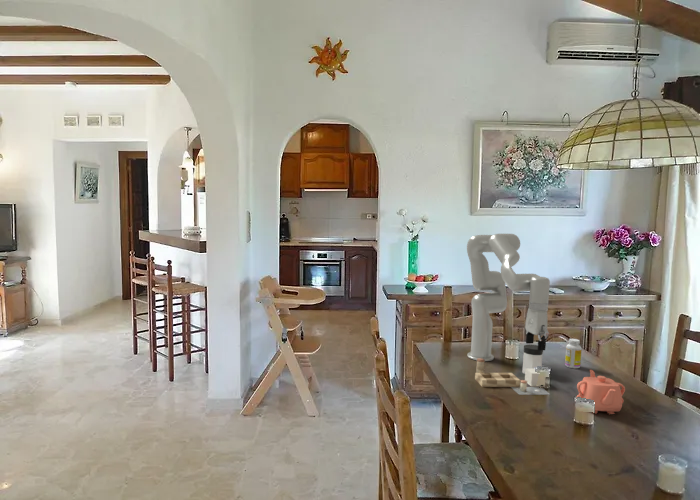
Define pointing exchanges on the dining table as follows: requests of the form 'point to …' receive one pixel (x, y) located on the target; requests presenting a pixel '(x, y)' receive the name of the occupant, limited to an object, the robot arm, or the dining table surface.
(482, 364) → the peg
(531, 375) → the white cube
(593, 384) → the teapot
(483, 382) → the peg board
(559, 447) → the dining table surface
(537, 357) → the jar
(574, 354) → the supplement bottle
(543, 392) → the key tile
